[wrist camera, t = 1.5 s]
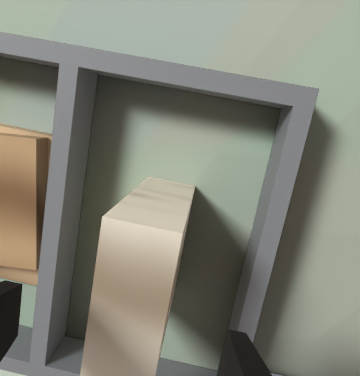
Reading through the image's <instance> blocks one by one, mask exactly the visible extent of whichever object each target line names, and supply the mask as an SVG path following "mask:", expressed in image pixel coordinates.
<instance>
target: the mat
mask: <svg viewBox="0 0 360 376" xmlns="http://www.w3.org/2000/svg"><path fill="white" fill-rule="evenodd" d="M0 376H26V375H22V374H17V373H13V372H9V371H5V370H1V369H0Z"/></svg>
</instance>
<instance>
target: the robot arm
mask: <svg viewBox="0 0 360 376" xmlns="http://www.w3.org/2000/svg"><path fill="white" fill-rule="evenodd" d="M21 294H22V284H19V283H14V282H10V281H2V282H0V362H1V360H2V359H3V357H4V356H5V355H6V353H7V352H8V350H9V349H10V347H11V346H12V344H13V342H14V341H15V339H16V338H17V336H18V329H19V317H20V306H21ZM217 376H282V375H278V374H273V373H270V371H269V370H268V368H267V366H266V365H265V363H264V362H263V360H262V358H261V357H260V355H259V353H258V352H257V350H256V348H255V347H254V345H253V343H252V342H251V340H250V338H249V337H248V335H247V333H244V332H240V331H235V330H230V329H228V332H227V336H226V340H225V344H224V348H223V352H222V356H221V360H220V364H219V368H218V372H217Z"/></svg>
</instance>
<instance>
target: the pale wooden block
mask: <svg viewBox="0 0 360 376" xmlns="http://www.w3.org/2000/svg"><path fill="white" fill-rule="evenodd" d="M194 191H195V186H193V185H188V184H183V183H178V182H173V181H168V180H163V179H158V178H153V177H148V178H146V179H145V180H144V181H143V182H142V183H141V184H139V185H138V186H137V187H136V188H135V189H134V190H132V191H131V192H130V193H129V194H128V195H127V196H126V197H124V198H123V199H122V200H121V201H120V202H119V203H117V204H116V205H115V206H114V207H113V208H112V209H110V210H109V211H108V212H107V213H106V214H105V215H104V216H102V222H101V229H100V236H99V243H98V250H97V257H96V264H95V272H94V279H93V286H92V293H91V300H90V307H89V315H88V322H87V329H86V336H85V343H84V350H83V358H82V365H81V372H80V376H156V371H157V367H158V363H159V358H160V354H161V349H162V345H163V340H164V336H165V331H166V327H167V323H168V318H169V314H170V309H171V305H172V300H173V296H174V291H175V287H176V282H177V277H178V272H179V267H180V262H181V257H182V252H183V246H184V241H185V236H186V231H187V226H188V221H189V216H190V211H191V206H192V201H193V196H194Z"/></svg>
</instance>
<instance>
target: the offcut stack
mask: <svg viewBox="0 0 360 376" xmlns="http://www.w3.org/2000/svg"><path fill="white" fill-rule="evenodd" d="M51 143H52V134H48V133H44V132H39V131H34V130H29V129H24V128H20V127H15V126H10V125H5V124H0V277H2V278H6V279H10V280H14V281H19V282H23V283H27V284H32V285H36V286H37V282H38V272H39V262H40V252H41V242H42V232H43V222H44V212H45V202H46V192H47V182H48V172H49V162H50V153H51Z"/></svg>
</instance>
